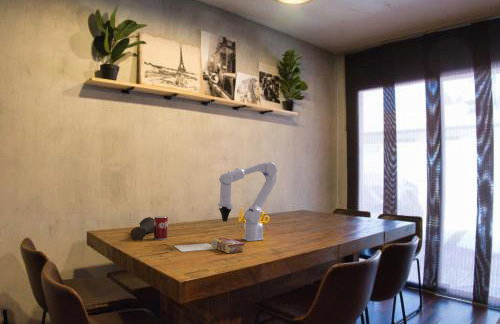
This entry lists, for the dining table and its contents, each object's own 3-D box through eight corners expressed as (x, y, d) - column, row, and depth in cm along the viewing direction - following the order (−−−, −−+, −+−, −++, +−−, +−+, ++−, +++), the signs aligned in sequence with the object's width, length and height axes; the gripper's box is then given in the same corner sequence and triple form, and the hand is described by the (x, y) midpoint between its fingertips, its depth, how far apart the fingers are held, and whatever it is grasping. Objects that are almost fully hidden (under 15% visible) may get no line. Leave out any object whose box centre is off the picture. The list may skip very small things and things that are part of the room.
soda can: (170, 238, 185) (170, 216, 186) (162, 240, 178) (163, 217, 179) (158, 237, 188) (159, 215, 188) (150, 239, 181) (151, 217, 181)
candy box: (211, 247, 164) (227, 253, 151) (211, 238, 164) (227, 243, 151) (227, 246, 169) (244, 251, 156) (227, 237, 169) (244, 242, 156)
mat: (207, 243, 172) (207, 243, 172) (216, 248, 161) (216, 248, 161) (174, 246, 165) (174, 245, 165) (181, 252, 153) (181, 251, 153)
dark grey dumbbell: (146, 235, 206) (134, 250, 178) (137, 220, 205) (124, 233, 177) (162, 226, 206) (152, 241, 178) (154, 211, 205) (143, 224, 177)
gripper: (213, 194, 186) (213, 219, 185) (223, 196, 173) (223, 223, 172) (225, 194, 189) (224, 219, 189) (236, 196, 176) (235, 222, 176)
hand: (224, 221), depth 181 cm, fingers closed
